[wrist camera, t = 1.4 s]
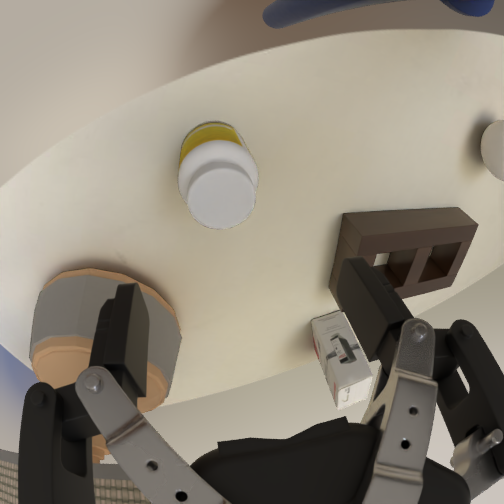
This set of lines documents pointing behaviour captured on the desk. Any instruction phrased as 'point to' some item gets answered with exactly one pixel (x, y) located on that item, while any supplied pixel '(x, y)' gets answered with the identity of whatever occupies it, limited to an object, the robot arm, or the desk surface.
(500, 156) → the ball
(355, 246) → the dock
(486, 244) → the desk surface
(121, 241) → the desk surface
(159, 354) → the desk lamp
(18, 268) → the desk surface
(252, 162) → the supplement bottle
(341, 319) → the ink box
